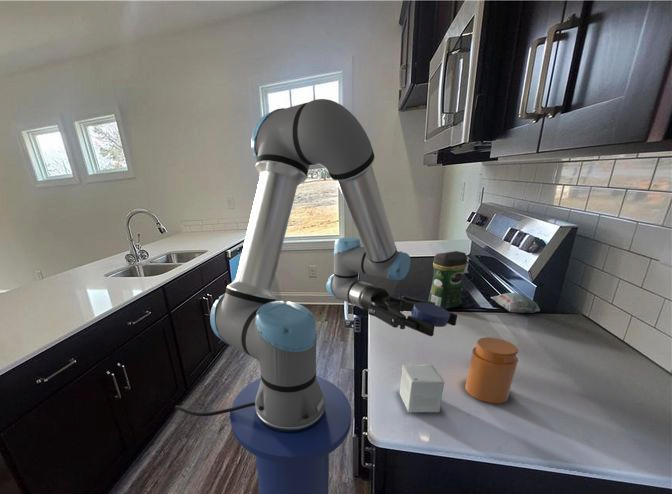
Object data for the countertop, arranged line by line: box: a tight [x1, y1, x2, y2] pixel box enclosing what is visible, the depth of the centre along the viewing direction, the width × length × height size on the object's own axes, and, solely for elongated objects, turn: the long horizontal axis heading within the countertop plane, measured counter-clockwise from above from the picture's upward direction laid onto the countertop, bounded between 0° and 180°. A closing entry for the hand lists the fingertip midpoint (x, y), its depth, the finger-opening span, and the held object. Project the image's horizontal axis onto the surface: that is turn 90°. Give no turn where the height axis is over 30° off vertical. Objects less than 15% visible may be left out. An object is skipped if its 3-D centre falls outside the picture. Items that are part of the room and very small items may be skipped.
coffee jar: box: [427, 250, 468, 310], centre depth 105 cm, size 10×8×19 cm
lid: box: [410, 302, 450, 328], centre depth 75 cm, size 8×8×2 cm
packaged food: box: [490, 292, 541, 314], centre depth 102 cm, size 9×12×5 cm
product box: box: [399, 364, 445, 413], centre depth 63 cm, size 6×6×7 cm
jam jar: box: [464, 336, 519, 405], centre depth 65 cm, size 8×8×11 cm
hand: (444, 325), depth 73 cm, fingers closed on lid, 8 cm apart
